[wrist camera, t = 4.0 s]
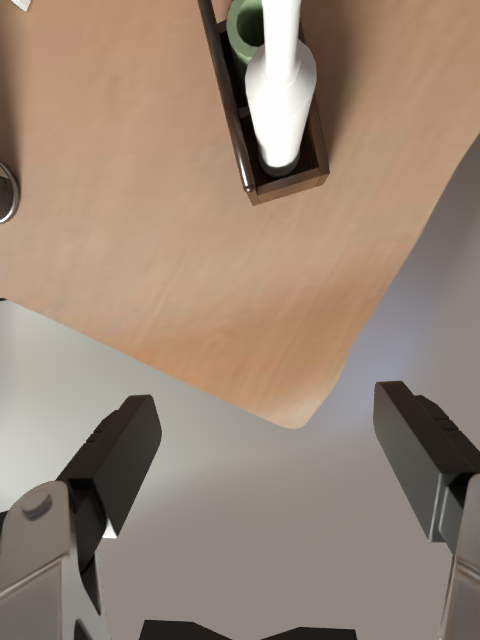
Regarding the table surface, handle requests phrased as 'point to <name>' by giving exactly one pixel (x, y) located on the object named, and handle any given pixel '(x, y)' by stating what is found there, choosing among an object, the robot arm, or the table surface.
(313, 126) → the tray
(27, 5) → the skincare box
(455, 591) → the robot arm
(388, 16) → the table surface
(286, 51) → the bottle
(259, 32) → the jar
